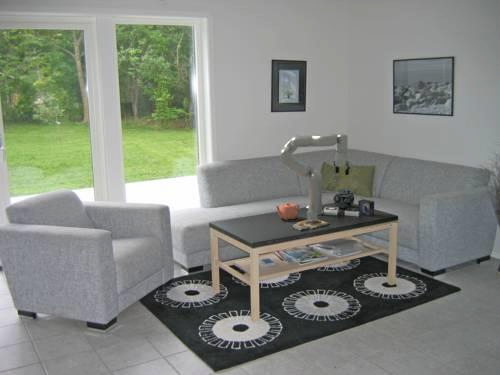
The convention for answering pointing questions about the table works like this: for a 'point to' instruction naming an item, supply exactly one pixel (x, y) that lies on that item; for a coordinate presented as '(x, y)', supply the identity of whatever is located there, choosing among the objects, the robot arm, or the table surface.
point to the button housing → (300, 227)
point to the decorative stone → (343, 198)
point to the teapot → (288, 211)
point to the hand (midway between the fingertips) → (342, 173)
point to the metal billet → (312, 216)
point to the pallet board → (315, 224)
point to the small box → (366, 207)
